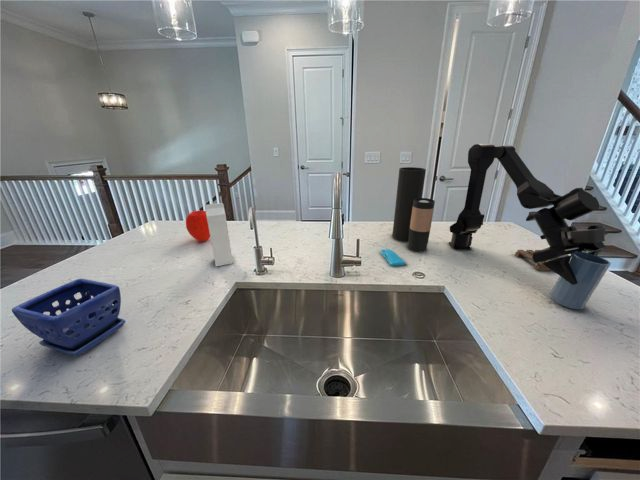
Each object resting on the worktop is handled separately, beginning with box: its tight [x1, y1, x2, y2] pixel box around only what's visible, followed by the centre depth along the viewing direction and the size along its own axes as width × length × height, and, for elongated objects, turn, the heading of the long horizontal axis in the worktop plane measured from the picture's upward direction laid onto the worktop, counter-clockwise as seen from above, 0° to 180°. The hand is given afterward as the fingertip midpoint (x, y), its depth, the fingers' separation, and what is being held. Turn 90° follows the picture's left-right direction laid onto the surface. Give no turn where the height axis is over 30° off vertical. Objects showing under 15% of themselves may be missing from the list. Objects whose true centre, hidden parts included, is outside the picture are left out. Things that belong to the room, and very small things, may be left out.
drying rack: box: [514, 249, 570, 272], centre depth 92 cm, size 16×12×2 cm
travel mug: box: [407, 197, 436, 253], centre depth 101 cm, size 8×8×20 cm
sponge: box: [380, 248, 406, 267], centre depth 97 cm, size 2×12×6 cm
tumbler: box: [549, 251, 612, 310], centre depth 68 cm, size 7×7×14 cm
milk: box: [204, 202, 234, 267], centre depth 92 cm, size 6×6×22 cm
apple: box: [185, 210, 211, 242], centre depth 114 cm, size 12×12×13 cm
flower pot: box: [11, 278, 126, 357], centre depth 59 cm, size 13×13×12 cm
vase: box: [391, 166, 427, 243], centre depth 111 cm, size 10×10×30 cm
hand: (585, 282), depth 67 cm, fingers closed on tumbler, 7 cm apart
